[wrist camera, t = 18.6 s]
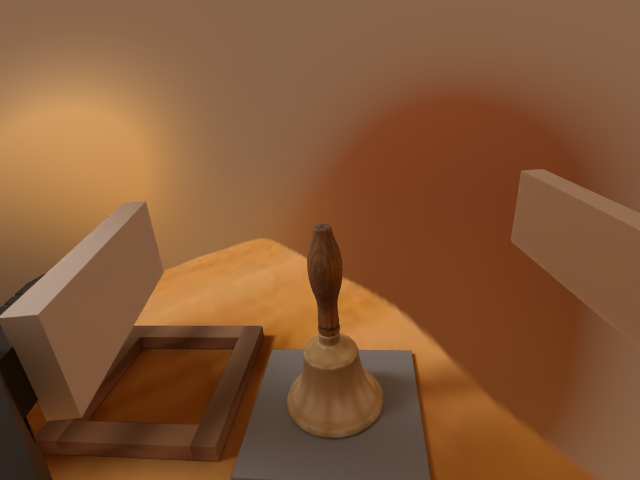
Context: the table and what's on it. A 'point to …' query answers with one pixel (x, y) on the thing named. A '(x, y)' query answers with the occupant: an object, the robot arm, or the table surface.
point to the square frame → (163, 437)
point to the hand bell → (331, 358)
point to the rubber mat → (336, 453)
